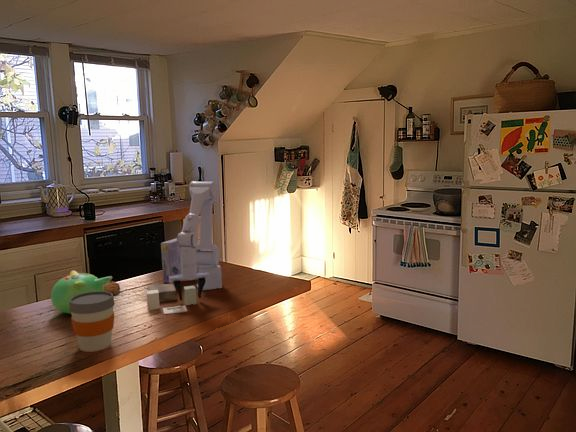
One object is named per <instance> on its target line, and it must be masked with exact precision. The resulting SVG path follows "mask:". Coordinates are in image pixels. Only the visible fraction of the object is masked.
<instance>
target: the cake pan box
mask: <svg viewBox="0 0 576 432" xmlns="http://www.w3.org/2000/svg"><path fill="white" fill-rule="evenodd" d="M160 249H161V251H160V253H161V267H162V278H163V279H162V280H163V283H166V284H171V283H170V282H169V276H175V275H180V274H181V259H180V252H179V248H178V245H177V237H176V238H173V239H170V240H166V241H163V242H161V243H160Z"/></svg>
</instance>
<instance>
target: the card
mask: <svg viewBox="0 0 576 432" xmlns="http://www.w3.org/2000/svg"><path fill="white" fill-rule="evenodd" d="M162 312H163V315H173V314H178V313H186V312H188V309H187V308H186V305H177V306H171V307H170V306H169V307H162Z"/></svg>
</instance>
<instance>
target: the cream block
mask: <svg viewBox="0 0 576 432" xmlns="http://www.w3.org/2000/svg"><path fill="white" fill-rule="evenodd" d="M146 305H147V306H146V307H147V310H148V311H152V310H159V309H160V308H161V307H160V302H159V292H158V290H150V291H148V290H146Z"/></svg>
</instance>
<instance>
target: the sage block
mask: <svg viewBox="0 0 576 432" xmlns="http://www.w3.org/2000/svg"><path fill="white" fill-rule="evenodd" d="M183 300H184V304H185V306H192V305H191V304H193V305H197V303H198V302H197V288H196V286H195V285H188V286H183Z"/></svg>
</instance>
